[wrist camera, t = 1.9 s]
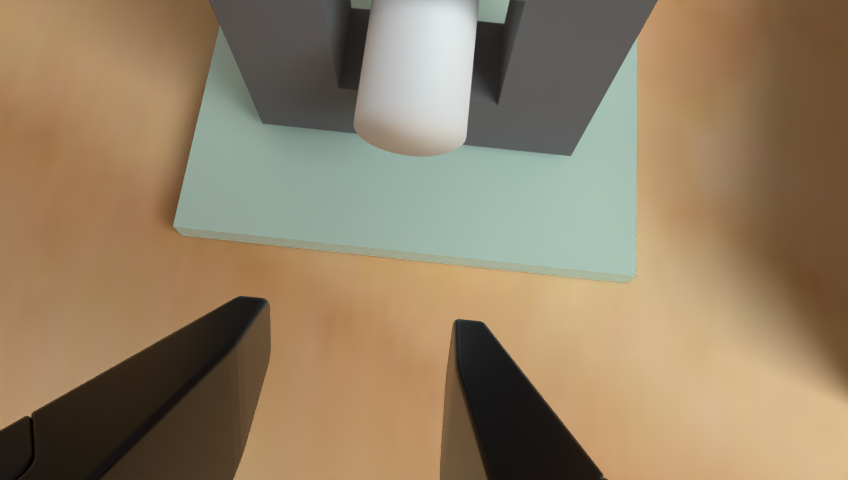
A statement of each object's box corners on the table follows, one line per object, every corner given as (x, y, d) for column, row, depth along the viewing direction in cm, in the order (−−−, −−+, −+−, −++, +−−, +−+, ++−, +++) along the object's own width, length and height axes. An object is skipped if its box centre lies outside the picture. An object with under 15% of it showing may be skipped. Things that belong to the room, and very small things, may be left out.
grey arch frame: (571, 156, 24) (703, -82, 13) (262, 123, 24) (149, -139, 13) (573, 82, 25) (699, -196, 14) (276, 50, 25) (181, -249, 14)
